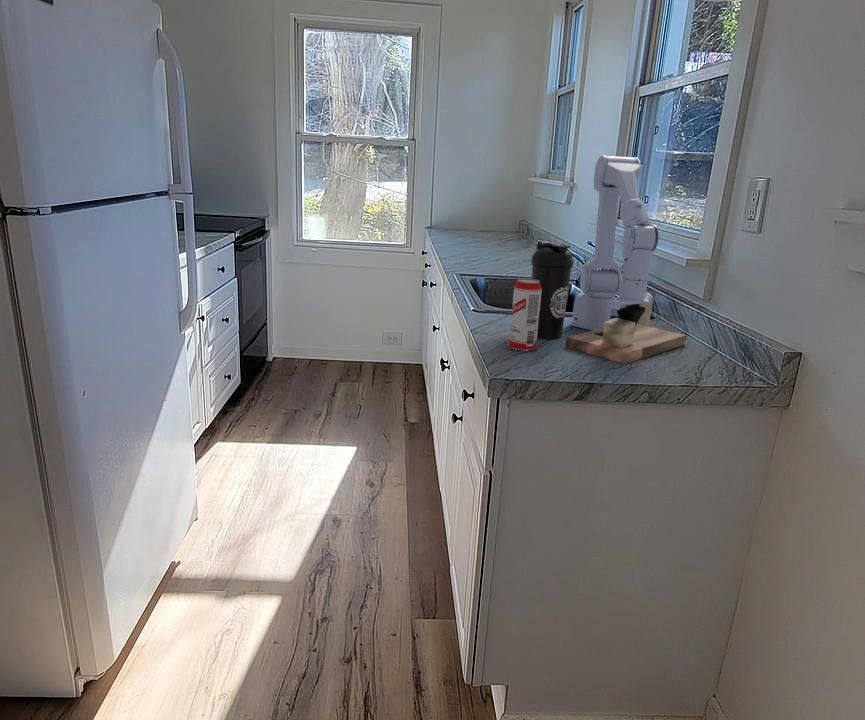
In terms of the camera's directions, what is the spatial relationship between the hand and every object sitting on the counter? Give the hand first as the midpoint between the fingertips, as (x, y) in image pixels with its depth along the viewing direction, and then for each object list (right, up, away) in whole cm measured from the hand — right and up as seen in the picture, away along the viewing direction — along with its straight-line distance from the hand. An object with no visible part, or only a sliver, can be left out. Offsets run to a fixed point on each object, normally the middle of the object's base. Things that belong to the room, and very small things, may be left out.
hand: (626, 336), depth 152 cm
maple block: (-3, -2, -2) cm, 4 cm away
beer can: (-25, -3, -1) cm, 25 cm away
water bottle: (-17, +1, +13) cm, 21 cm away
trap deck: (+2, -2, +6) cm, 7 cm away
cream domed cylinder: (+11, +3, +27) cm, 29 cm away
